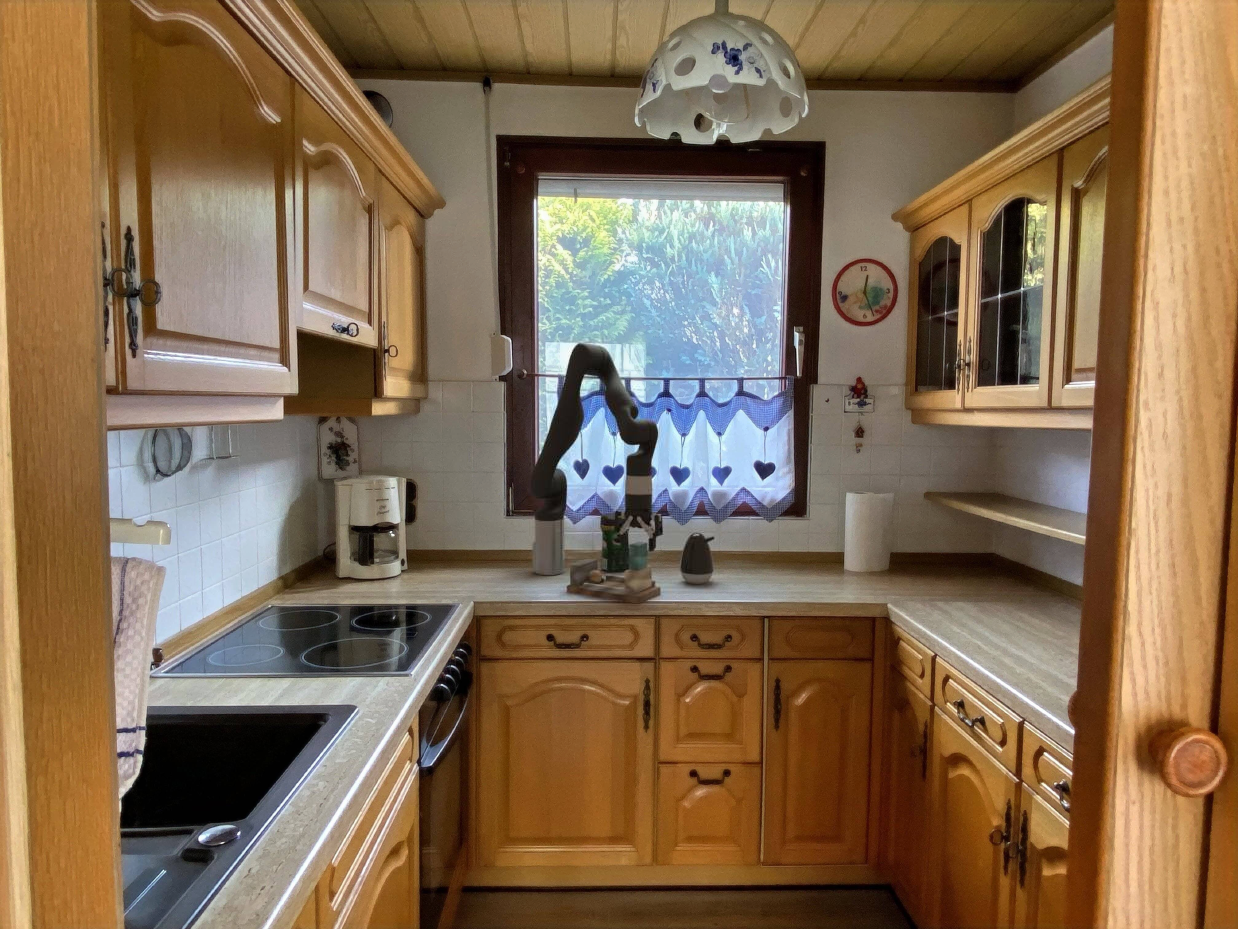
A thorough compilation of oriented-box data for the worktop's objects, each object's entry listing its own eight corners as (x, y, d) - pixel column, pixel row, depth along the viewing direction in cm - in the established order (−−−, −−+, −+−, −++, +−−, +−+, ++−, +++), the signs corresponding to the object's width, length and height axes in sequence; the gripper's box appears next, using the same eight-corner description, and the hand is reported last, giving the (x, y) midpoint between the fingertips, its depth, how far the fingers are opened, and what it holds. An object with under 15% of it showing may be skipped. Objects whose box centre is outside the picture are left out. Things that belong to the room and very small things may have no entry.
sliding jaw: (624, 592, 213) (624, 546, 212) (642, 584, 221) (642, 540, 220) (634, 594, 211) (634, 547, 210) (651, 586, 220) (651, 541, 219)
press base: (565, 592, 221) (565, 565, 220) (590, 583, 232) (590, 557, 232) (638, 604, 209) (638, 575, 208) (661, 593, 220) (661, 566, 219)
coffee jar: (624, 566, 256) (624, 510, 254) (633, 571, 249) (634, 513, 247) (597, 568, 252) (596, 512, 251) (606, 573, 245) (605, 515, 243)
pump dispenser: (710, 587, 227) (710, 536, 226) (676, 584, 230) (676, 534, 229) (717, 579, 237) (717, 530, 235) (684, 577, 240) (684, 528, 239)
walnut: (585, 584, 223) (585, 570, 222) (593, 581, 226) (593, 568, 226) (597, 586, 221) (597, 572, 220) (604, 583, 224) (604, 569, 224)
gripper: (609, 491, 214) (609, 548, 216) (654, 495, 207) (654, 554, 208) (623, 488, 220) (622, 544, 222) (667, 492, 213) (666, 549, 215)
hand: (638, 549), depth 215 cm, fingers open, 8 cm apart
